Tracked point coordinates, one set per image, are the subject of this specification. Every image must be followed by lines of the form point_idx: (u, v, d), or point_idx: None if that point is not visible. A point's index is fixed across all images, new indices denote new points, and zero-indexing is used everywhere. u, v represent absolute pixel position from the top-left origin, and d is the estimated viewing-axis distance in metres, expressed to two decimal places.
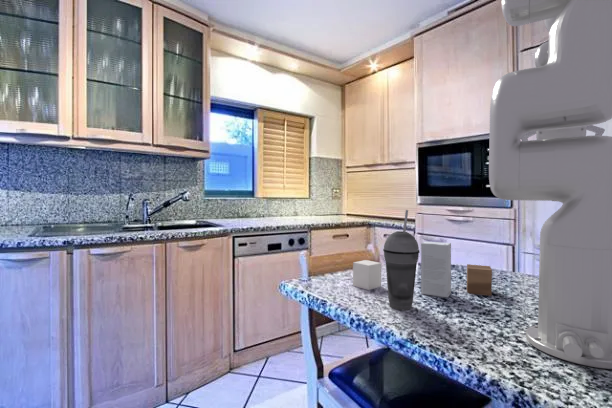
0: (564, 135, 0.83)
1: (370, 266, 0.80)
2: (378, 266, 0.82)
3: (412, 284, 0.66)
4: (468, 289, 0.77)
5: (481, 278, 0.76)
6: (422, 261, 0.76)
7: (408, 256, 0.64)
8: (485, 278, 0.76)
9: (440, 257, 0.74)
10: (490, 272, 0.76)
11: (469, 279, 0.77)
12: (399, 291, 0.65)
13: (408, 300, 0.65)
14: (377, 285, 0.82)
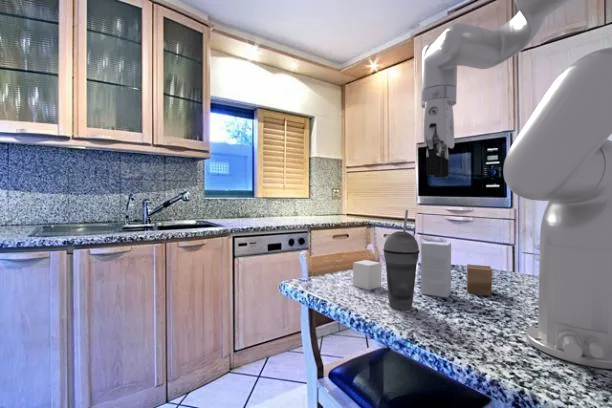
0: (451, 141, 0.75)
1: (370, 266, 0.80)
2: (378, 265, 0.82)
3: (412, 284, 0.66)
4: (468, 289, 0.77)
5: (481, 278, 0.76)
6: (422, 261, 0.76)
7: (408, 256, 0.64)
8: (485, 278, 0.76)
9: (440, 257, 0.74)
10: (490, 272, 0.76)
11: (469, 279, 0.77)
12: (399, 291, 0.65)
13: (408, 300, 0.65)
14: (377, 285, 0.82)
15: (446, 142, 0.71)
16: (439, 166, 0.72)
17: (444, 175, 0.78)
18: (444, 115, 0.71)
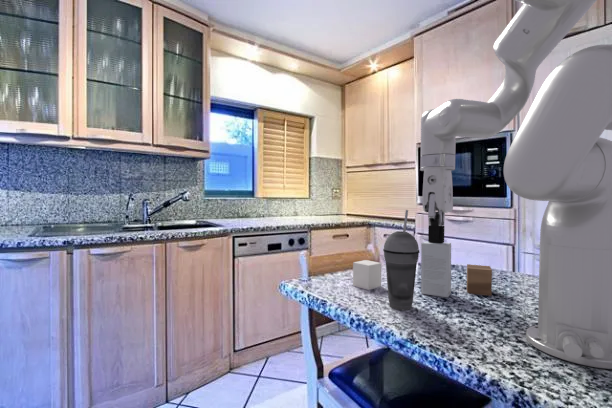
0: (450, 206, 0.75)
1: (370, 266, 0.80)
2: (378, 266, 0.82)
3: (412, 284, 0.66)
4: (468, 289, 0.77)
5: (481, 278, 0.76)
6: (422, 261, 0.76)
7: (408, 256, 0.64)
8: (485, 278, 0.76)
9: (440, 257, 0.74)
10: (490, 272, 0.76)
11: (469, 279, 0.77)
12: (399, 291, 0.65)
13: (408, 300, 0.65)
14: (377, 285, 0.82)
15: (445, 211, 0.72)
16: (441, 235, 0.75)
17: None
18: (443, 185, 0.71)
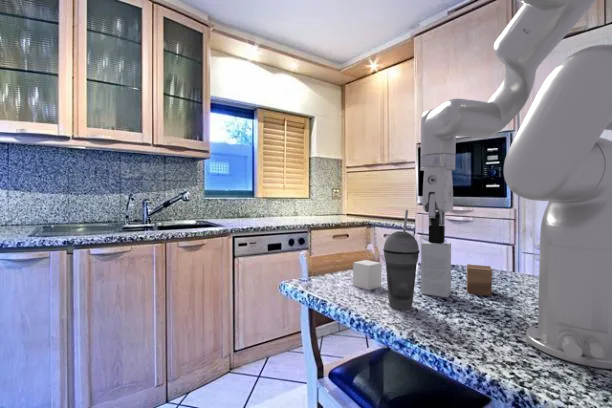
0: (450, 206, 0.75)
1: (370, 266, 0.80)
2: (378, 266, 0.82)
3: (412, 284, 0.66)
4: (468, 289, 0.77)
5: (481, 278, 0.76)
6: (422, 261, 0.76)
7: (408, 256, 0.64)
8: (485, 278, 0.76)
9: (440, 257, 0.74)
10: (490, 272, 0.75)
11: (469, 279, 0.77)
12: (399, 291, 0.65)
13: (408, 300, 0.65)
14: (377, 285, 0.82)
15: (445, 211, 0.72)
16: (441, 235, 0.75)
17: None
18: (443, 185, 0.71)
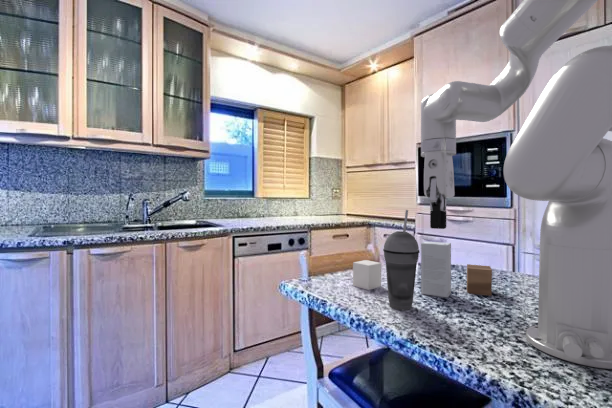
0: (452, 191, 0.75)
1: (370, 266, 0.80)
2: (378, 265, 0.82)
3: (412, 284, 0.66)
4: (468, 289, 0.77)
5: (481, 278, 0.76)
6: (422, 261, 0.76)
7: (408, 256, 0.64)
8: (485, 278, 0.76)
9: (440, 257, 0.74)
10: (490, 272, 0.76)
11: (469, 279, 0.77)
12: (399, 291, 0.65)
13: (408, 300, 0.65)
14: (377, 285, 0.82)
15: (446, 195, 0.71)
16: (443, 220, 0.75)
17: None
18: (444, 169, 0.71)
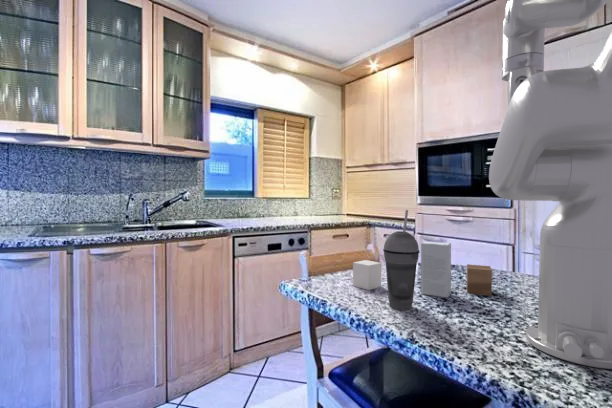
0: None
1: (370, 266, 0.80)
2: (377, 266, 0.82)
3: (412, 284, 0.66)
4: (468, 289, 0.77)
5: (481, 278, 0.76)
6: (422, 261, 0.76)
7: (408, 256, 0.64)
8: (485, 278, 0.76)
9: (440, 257, 0.74)
10: (490, 272, 0.76)
11: (469, 279, 0.77)
12: (399, 291, 0.65)
13: (408, 300, 0.65)
14: (377, 285, 0.82)
15: None
16: None
17: None
18: None
